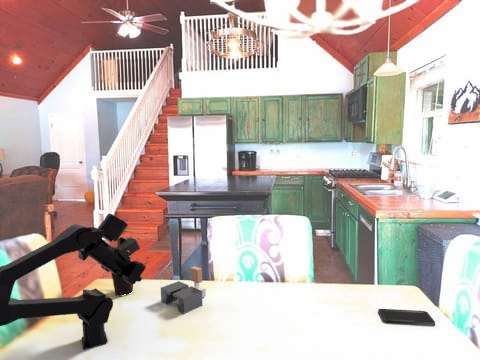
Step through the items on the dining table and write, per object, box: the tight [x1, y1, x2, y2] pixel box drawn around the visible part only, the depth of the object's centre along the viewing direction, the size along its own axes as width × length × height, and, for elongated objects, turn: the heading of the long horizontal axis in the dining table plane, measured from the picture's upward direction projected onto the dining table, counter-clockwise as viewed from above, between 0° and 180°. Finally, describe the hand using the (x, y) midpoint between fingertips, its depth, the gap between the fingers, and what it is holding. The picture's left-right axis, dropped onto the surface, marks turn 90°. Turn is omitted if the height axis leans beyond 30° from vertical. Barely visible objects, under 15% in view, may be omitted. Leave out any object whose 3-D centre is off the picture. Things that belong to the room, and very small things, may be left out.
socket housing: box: [160, 281, 204, 315], centre depth 119 cm, size 8×14×5 cm, turn 47°
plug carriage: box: [190, 266, 207, 299], centre depth 122 cm, size 10×5×11 cm, turn 137°
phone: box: [377, 308, 436, 326], centre depth 105 cm, size 8×1×15 cm
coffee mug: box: [110, 272, 134, 296], centre depth 131 cm, size 12×9×10 cm
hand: (140, 280), depth 107 cm, fingers closed
